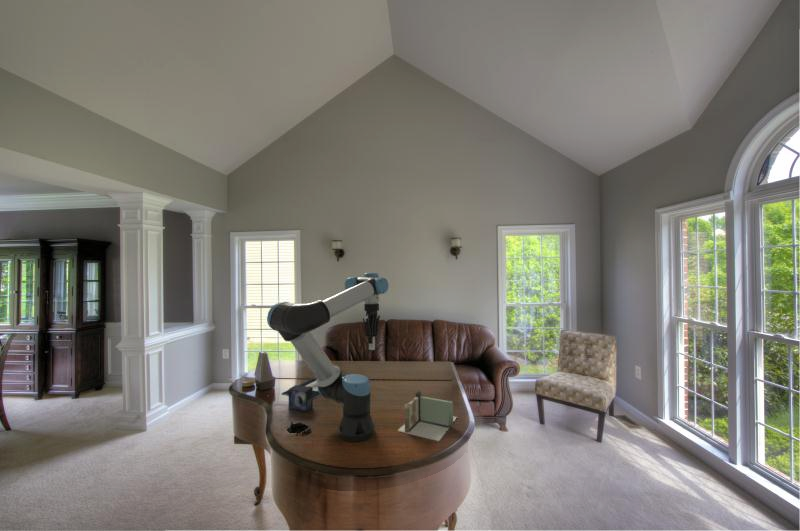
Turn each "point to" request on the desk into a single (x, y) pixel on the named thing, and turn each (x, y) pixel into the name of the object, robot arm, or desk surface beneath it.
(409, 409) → the fixed fence
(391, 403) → the desk surface
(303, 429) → the black jagged lump
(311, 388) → the small box
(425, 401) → the hinged panel
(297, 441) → the desk surface
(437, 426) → the card
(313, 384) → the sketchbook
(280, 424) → the desk surface
